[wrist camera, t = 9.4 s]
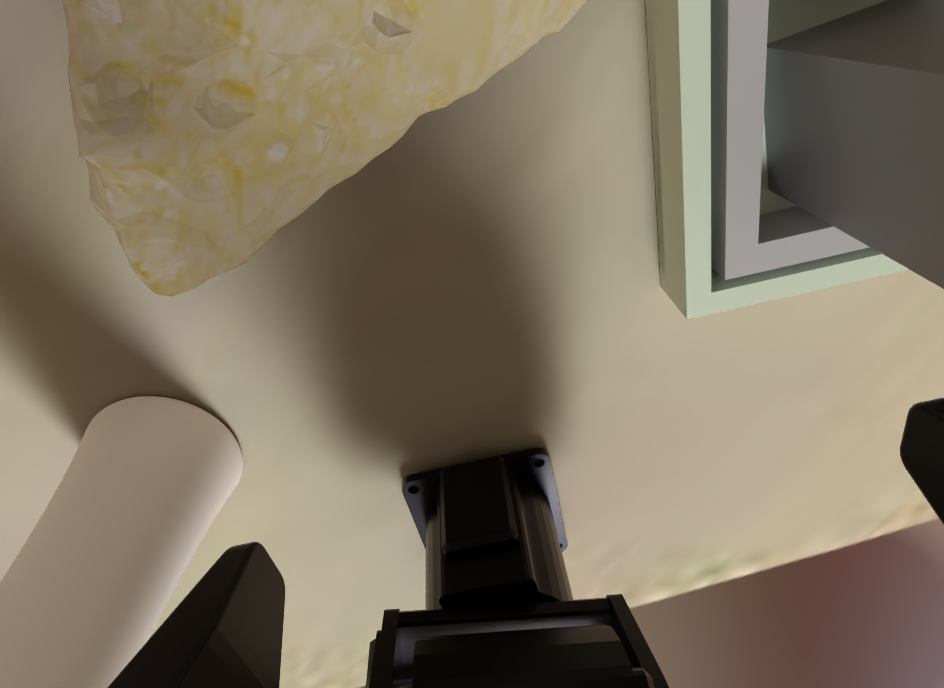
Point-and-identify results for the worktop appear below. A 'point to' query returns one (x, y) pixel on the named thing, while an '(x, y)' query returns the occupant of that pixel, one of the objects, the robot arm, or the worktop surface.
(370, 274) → the worktop surface
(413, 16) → the cheese
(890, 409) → the worktop surface
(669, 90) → the box
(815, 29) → the plug
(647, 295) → the worktop surface
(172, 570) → the cosmetic bottle
